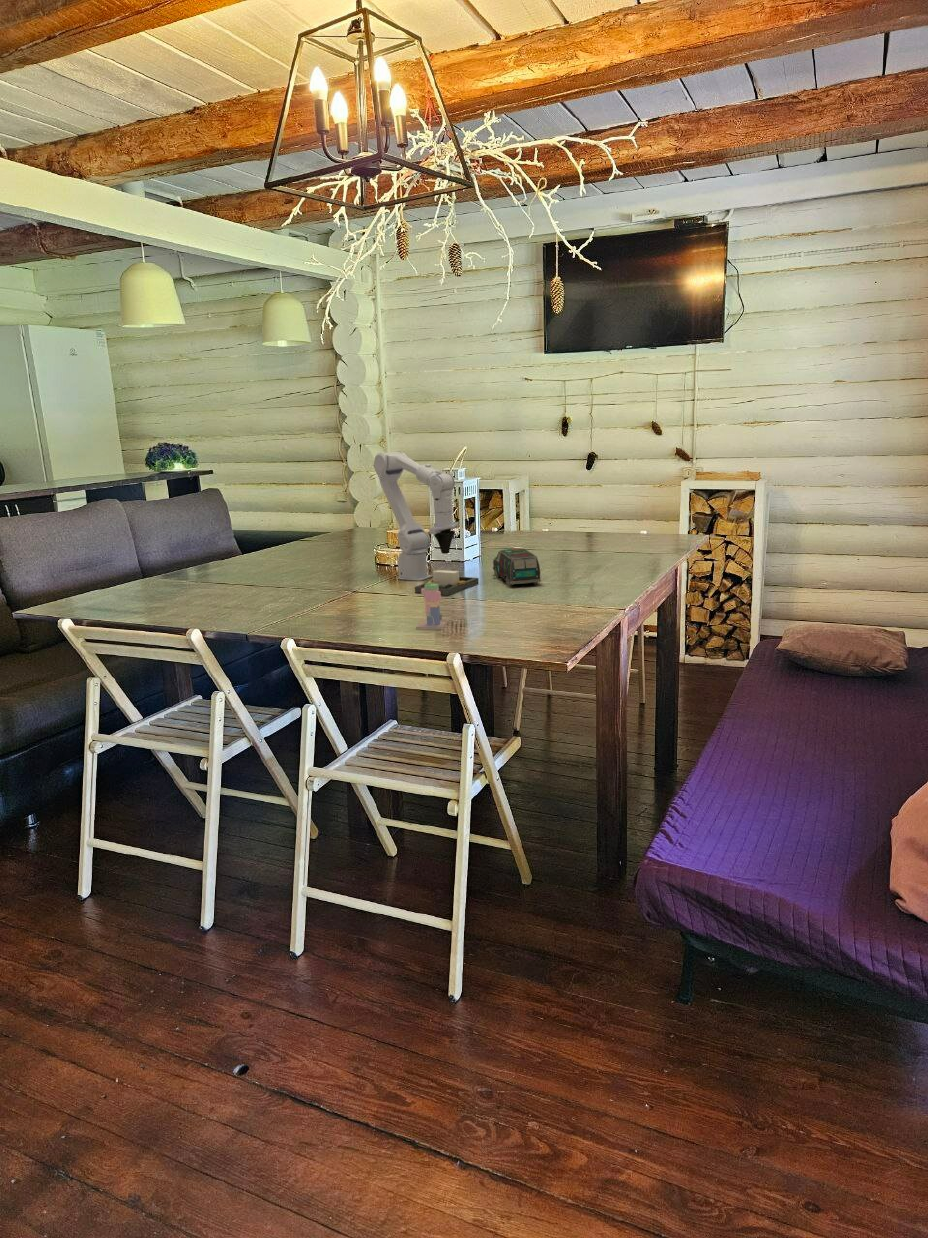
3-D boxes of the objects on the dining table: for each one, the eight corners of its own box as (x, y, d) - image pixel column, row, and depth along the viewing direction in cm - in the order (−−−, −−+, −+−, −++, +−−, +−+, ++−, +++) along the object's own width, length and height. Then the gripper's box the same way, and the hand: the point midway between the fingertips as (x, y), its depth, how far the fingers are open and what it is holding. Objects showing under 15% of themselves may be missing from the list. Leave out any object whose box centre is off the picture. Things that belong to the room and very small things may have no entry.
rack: (415, 593, 265) (414, 584, 264) (447, 581, 281) (447, 573, 280) (447, 596, 259) (446, 587, 258) (478, 583, 274) (478, 575, 274)
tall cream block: (433, 586, 271) (432, 571, 269) (438, 585, 273) (437, 569, 272) (454, 588, 266) (453, 573, 265) (459, 586, 269) (458, 571, 268)
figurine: (446, 624, 225) (444, 579, 222) (441, 629, 220) (439, 584, 217) (421, 623, 227) (419, 579, 224) (416, 629, 221) (413, 584, 219)
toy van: (522, 572, 291) (521, 543, 288) (542, 586, 267) (541, 555, 265) (492, 575, 289) (491, 546, 287) (509, 589, 265) (508, 557, 263)
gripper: (441, 514, 265) (443, 557, 268) (465, 509, 277) (467, 550, 280) (422, 514, 268) (425, 556, 272) (447, 508, 280) (449, 549, 284)
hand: (445, 553), depth 276 cm, fingers closed
